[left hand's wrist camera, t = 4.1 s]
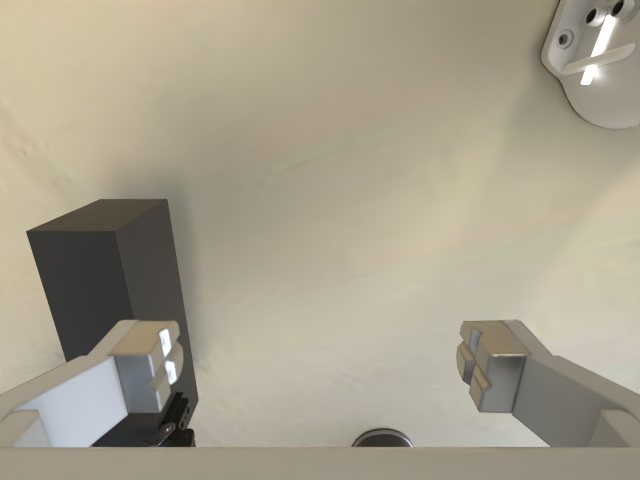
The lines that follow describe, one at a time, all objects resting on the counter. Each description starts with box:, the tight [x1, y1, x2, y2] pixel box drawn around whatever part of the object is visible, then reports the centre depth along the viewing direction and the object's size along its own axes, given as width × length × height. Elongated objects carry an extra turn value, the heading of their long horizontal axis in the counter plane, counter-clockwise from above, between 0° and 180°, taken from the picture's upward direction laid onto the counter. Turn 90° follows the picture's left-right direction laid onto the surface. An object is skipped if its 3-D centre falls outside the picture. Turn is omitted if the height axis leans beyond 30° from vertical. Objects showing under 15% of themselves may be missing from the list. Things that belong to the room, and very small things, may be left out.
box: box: [26, 199, 199, 447], centre depth 32 cm, size 23×6×9 cm, turn 0°
